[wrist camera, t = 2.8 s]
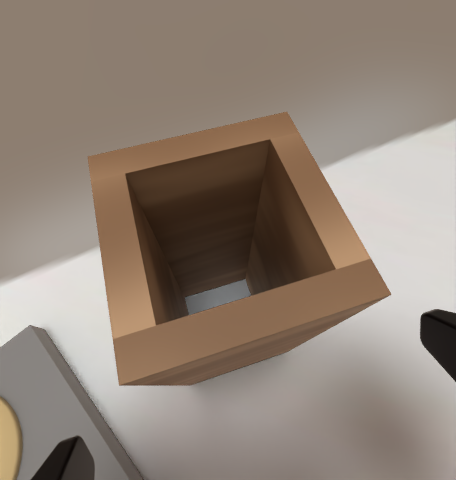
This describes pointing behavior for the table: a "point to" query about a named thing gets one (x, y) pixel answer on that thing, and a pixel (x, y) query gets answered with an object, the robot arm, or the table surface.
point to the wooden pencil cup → (223, 250)
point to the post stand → (49, 412)
